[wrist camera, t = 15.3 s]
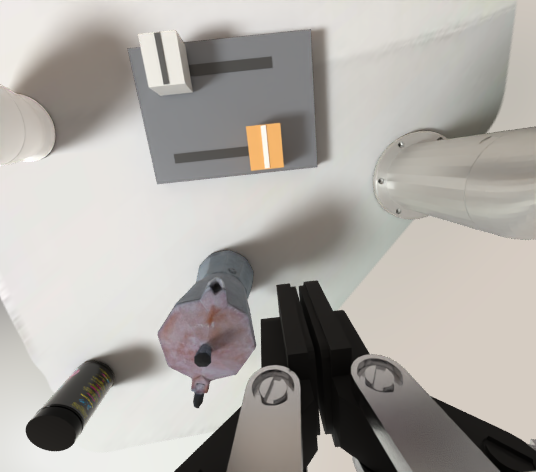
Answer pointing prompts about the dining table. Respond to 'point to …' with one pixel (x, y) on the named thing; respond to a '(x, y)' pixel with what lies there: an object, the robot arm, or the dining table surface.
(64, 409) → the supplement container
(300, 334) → the robot arm
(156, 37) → the block
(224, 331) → the moka pot
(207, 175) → the console
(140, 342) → the dining table surface
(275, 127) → the orange fader
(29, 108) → the jar
